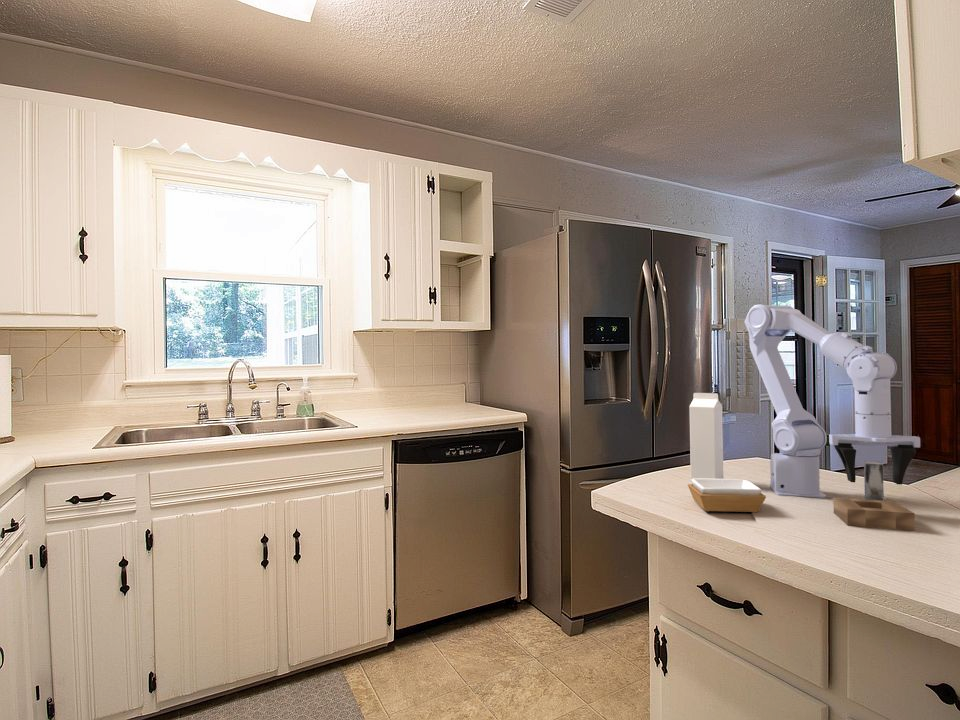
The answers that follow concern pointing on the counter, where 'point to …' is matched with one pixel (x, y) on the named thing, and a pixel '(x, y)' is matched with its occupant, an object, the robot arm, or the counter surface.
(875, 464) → the peg
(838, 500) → the block
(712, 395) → the milk
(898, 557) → the counter surface
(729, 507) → the soap dish
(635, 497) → the counter surface
